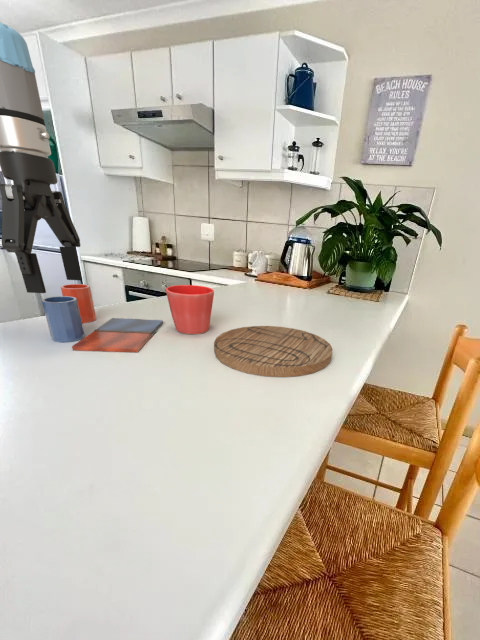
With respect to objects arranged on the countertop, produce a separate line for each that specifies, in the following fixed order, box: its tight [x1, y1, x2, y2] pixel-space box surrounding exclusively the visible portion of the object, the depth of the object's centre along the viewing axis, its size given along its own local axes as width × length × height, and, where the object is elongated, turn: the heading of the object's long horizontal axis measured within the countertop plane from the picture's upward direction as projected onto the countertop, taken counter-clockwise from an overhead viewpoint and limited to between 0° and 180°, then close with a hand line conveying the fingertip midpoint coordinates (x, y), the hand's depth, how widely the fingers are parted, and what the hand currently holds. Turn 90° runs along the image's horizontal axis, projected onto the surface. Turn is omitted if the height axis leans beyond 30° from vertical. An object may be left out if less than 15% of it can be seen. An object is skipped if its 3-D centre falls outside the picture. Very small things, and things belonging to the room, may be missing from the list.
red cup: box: [60, 283, 97, 324], centre depth 77 cm, size 6×6×8 cm
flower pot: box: [165, 284, 215, 335], centre depth 76 cm, size 11×11×10 cm
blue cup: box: [41, 295, 86, 343], centre depth 66 cm, size 6×6×8 cm
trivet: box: [213, 325, 334, 378], centre depth 69 cm, size 25×25×2 cm
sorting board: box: [71, 317, 164, 353], centre depth 71 cm, size 12×20×1 cm, turn 5°
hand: (57, 285), depth 63 cm, fingers open, 13 cm apart
